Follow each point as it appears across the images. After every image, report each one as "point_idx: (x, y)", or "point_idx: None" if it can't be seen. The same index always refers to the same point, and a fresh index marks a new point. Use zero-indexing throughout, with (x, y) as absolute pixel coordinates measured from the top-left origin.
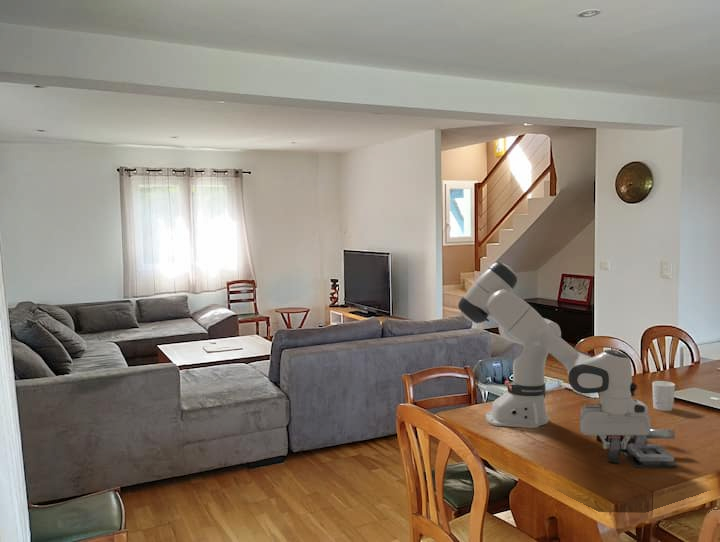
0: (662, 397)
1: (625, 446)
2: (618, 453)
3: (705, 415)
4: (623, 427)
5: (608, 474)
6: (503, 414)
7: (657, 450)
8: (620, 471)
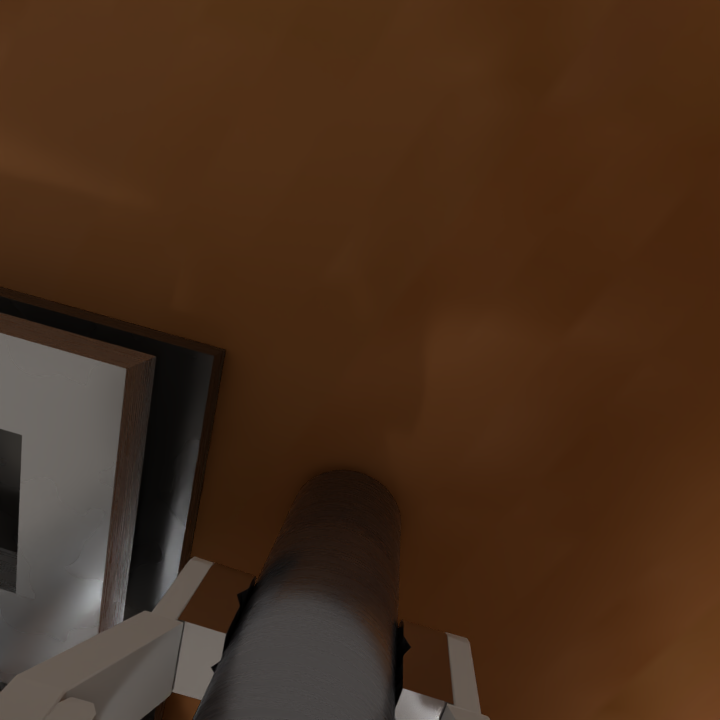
0: None
1: (180, 582)
2: (316, 527)
3: None
4: None
5: (610, 270)
6: None
7: None
8: (429, 308)
